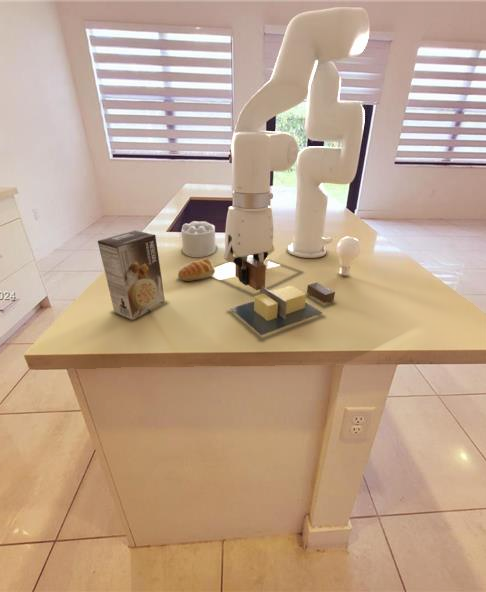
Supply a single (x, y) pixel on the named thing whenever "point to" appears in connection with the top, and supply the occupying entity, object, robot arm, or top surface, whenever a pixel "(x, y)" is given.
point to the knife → (262, 283)
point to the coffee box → (132, 272)
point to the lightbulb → (347, 253)
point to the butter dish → (268, 326)
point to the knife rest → (320, 292)
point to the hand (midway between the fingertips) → (249, 281)
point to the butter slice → (265, 306)
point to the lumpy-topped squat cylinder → (198, 239)
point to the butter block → (292, 298)
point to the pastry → (197, 270)
